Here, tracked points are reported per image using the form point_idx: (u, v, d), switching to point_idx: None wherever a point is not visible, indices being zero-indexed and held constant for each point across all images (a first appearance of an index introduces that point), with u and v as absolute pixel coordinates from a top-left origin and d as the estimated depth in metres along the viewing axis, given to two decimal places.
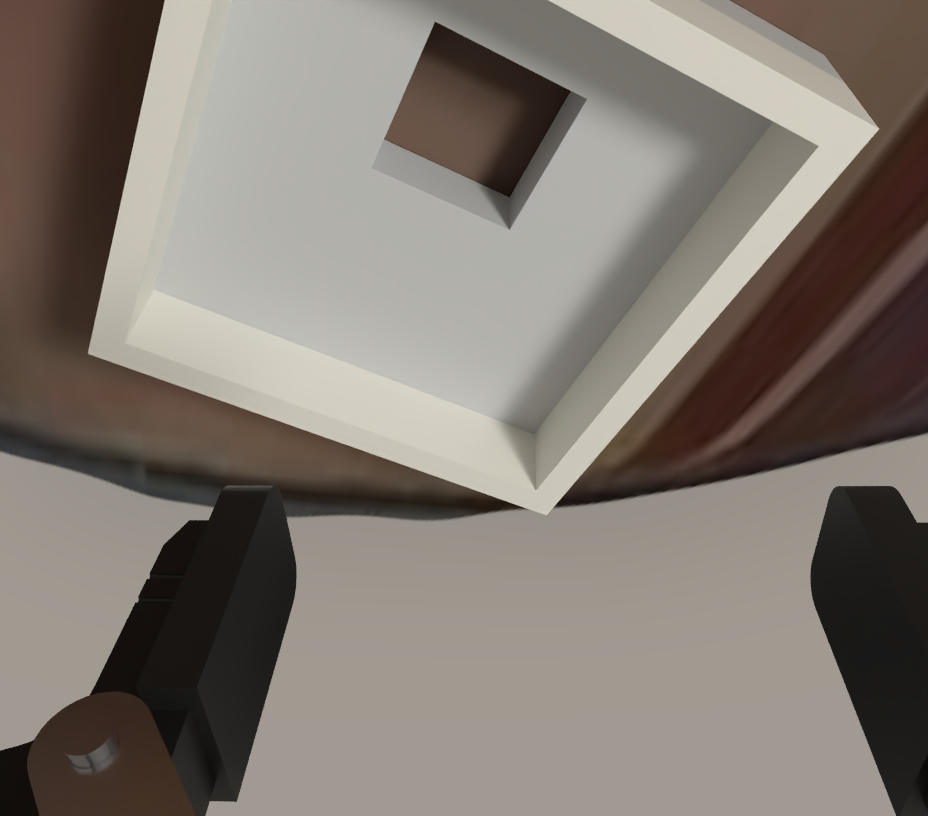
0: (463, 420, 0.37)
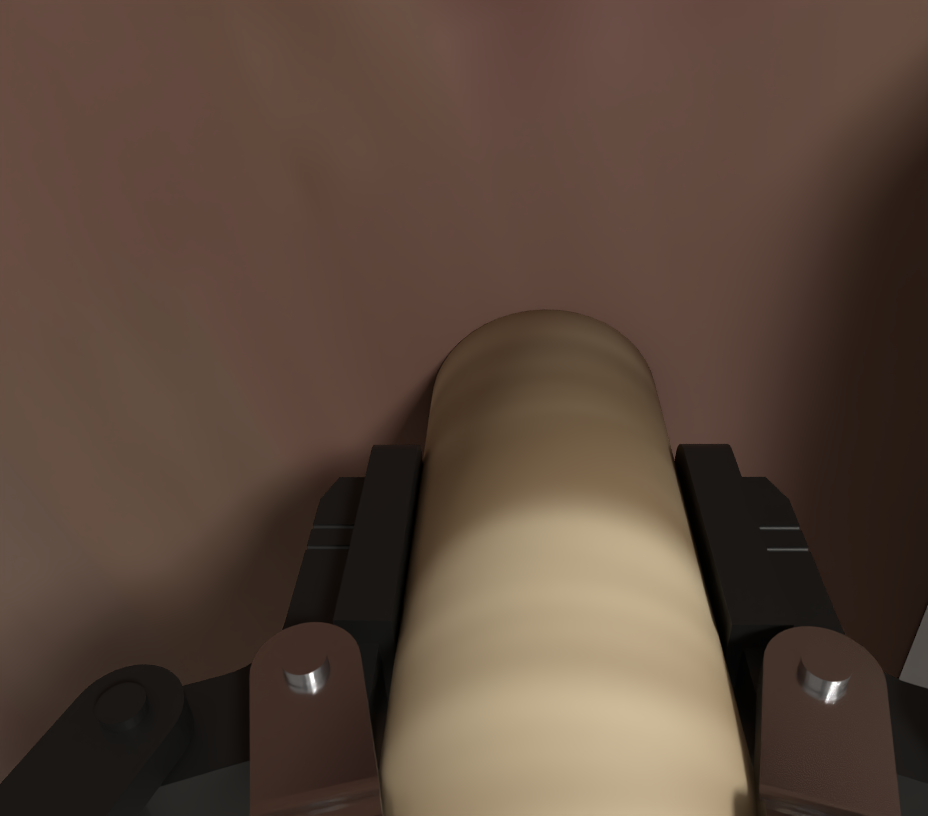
0: None
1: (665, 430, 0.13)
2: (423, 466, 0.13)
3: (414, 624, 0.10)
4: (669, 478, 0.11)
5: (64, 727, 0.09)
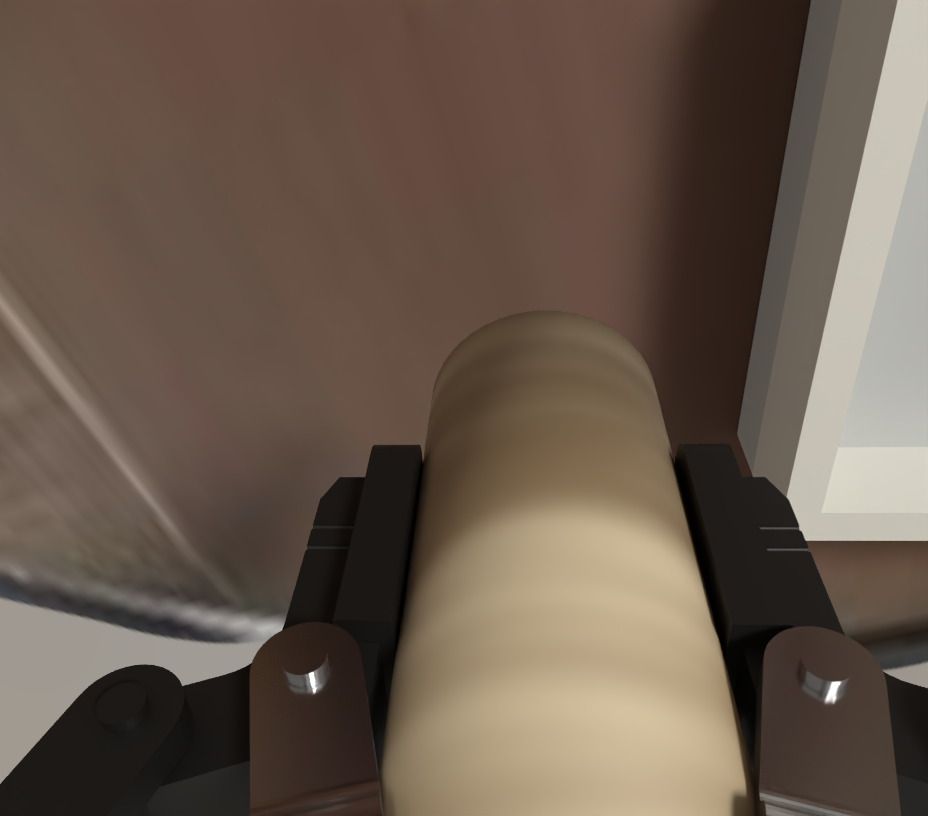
0: None
1: (665, 431, 0.13)
2: (423, 467, 0.13)
3: (415, 624, 0.10)
4: (669, 479, 0.11)
5: (64, 727, 0.09)
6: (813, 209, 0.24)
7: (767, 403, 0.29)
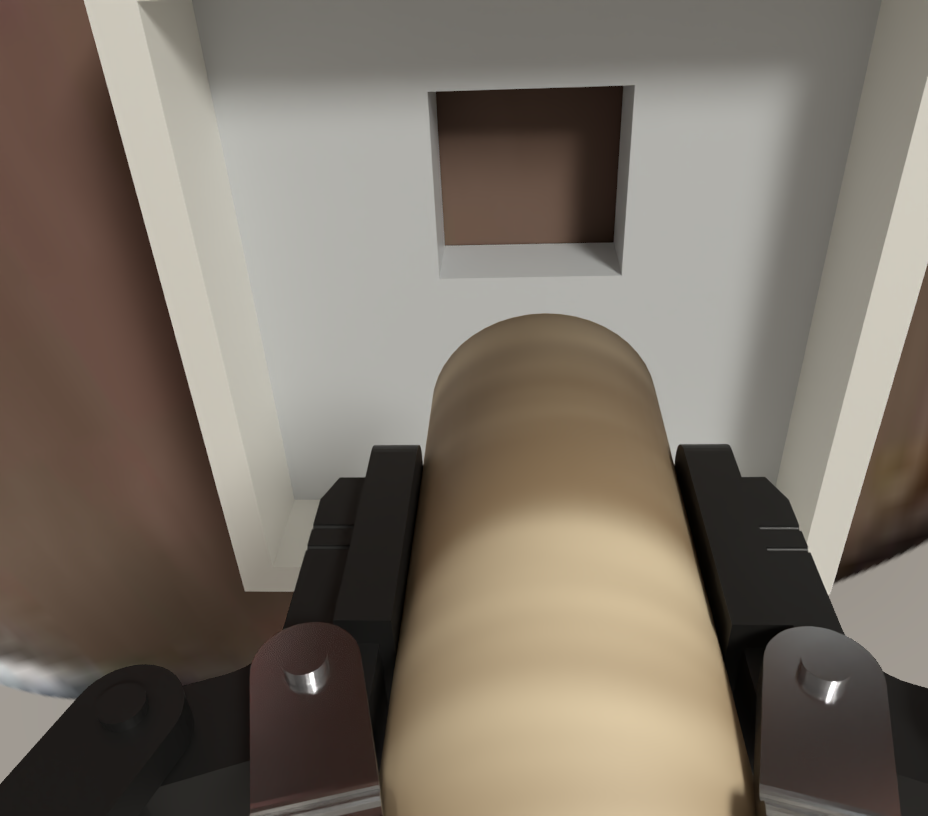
0: None
1: (665, 434, 0.13)
2: (423, 469, 0.13)
3: (415, 627, 0.10)
4: (669, 482, 0.11)
5: (64, 727, 0.09)
6: None
7: None
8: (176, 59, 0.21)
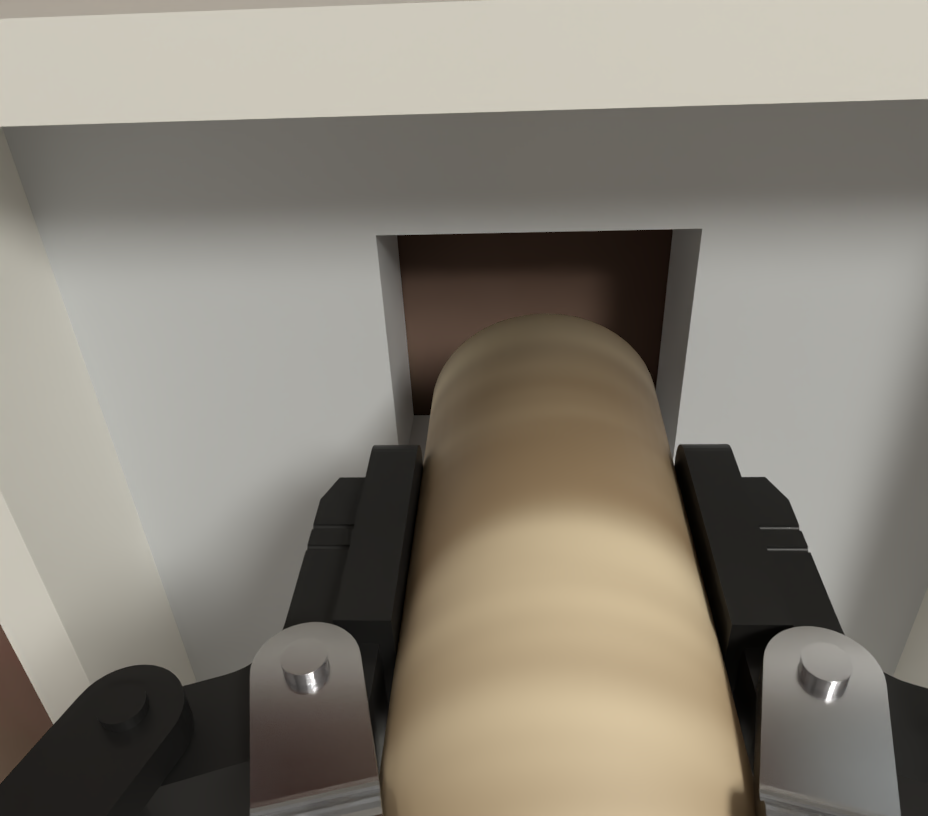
0: None
1: (665, 434, 0.13)
2: (423, 470, 0.13)
3: (415, 628, 0.10)
4: (669, 482, 0.11)
5: (64, 727, 0.09)
6: None
7: None
8: None
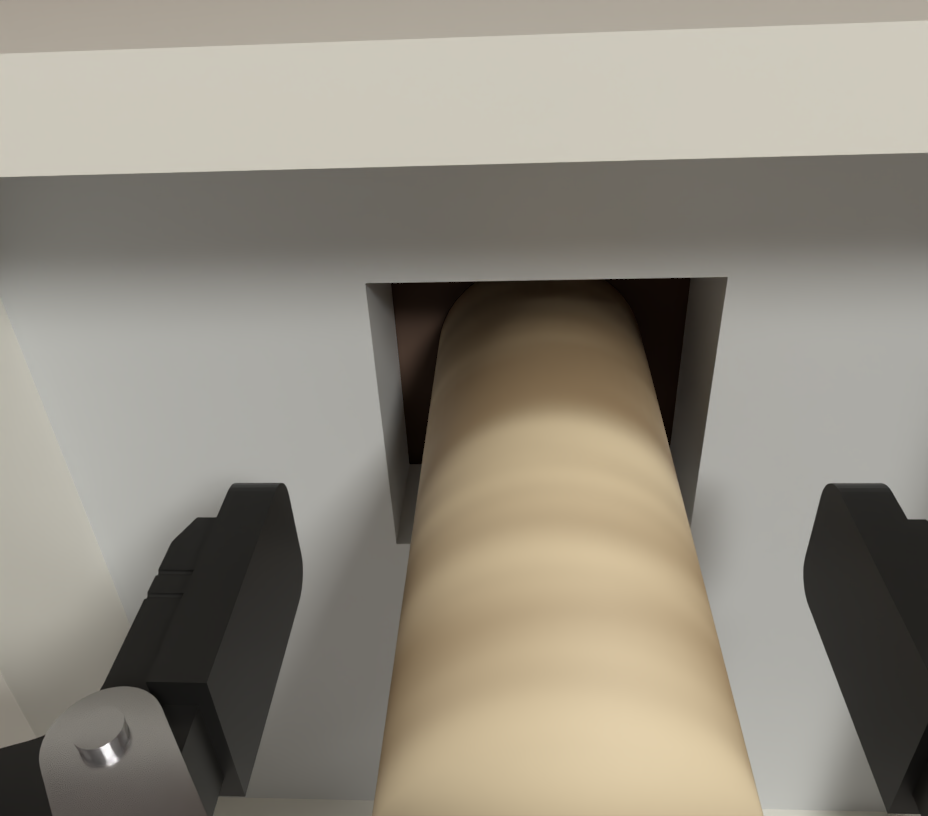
0: None
1: (647, 365, 0.15)
2: (432, 396, 0.14)
3: (428, 510, 0.11)
4: (648, 399, 0.13)
5: None
6: None
7: None
8: None
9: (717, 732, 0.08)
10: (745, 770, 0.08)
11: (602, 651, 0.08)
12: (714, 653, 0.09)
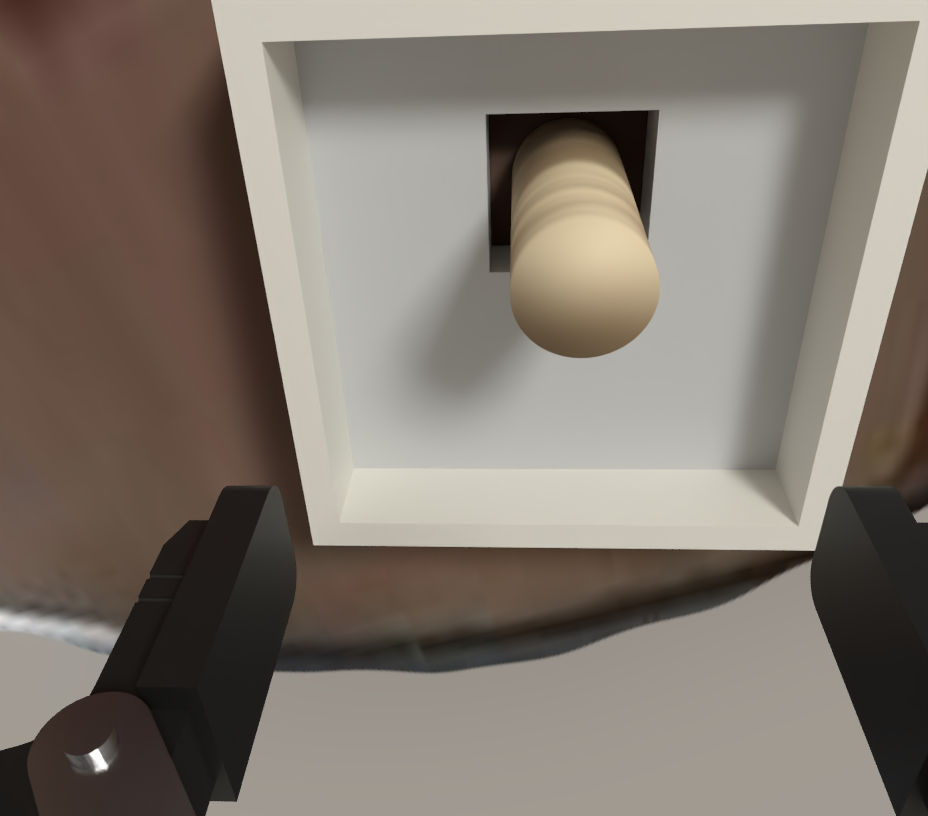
0: (690, 482, 0.34)
1: (623, 166, 0.29)
2: (514, 179, 0.29)
3: (522, 201, 0.25)
4: (622, 170, 0.27)
5: None
6: None
7: None
8: (283, 87, 0.25)
9: (640, 236, 0.22)
10: (650, 251, 0.22)
11: (598, 209, 0.22)
12: (642, 230, 0.23)
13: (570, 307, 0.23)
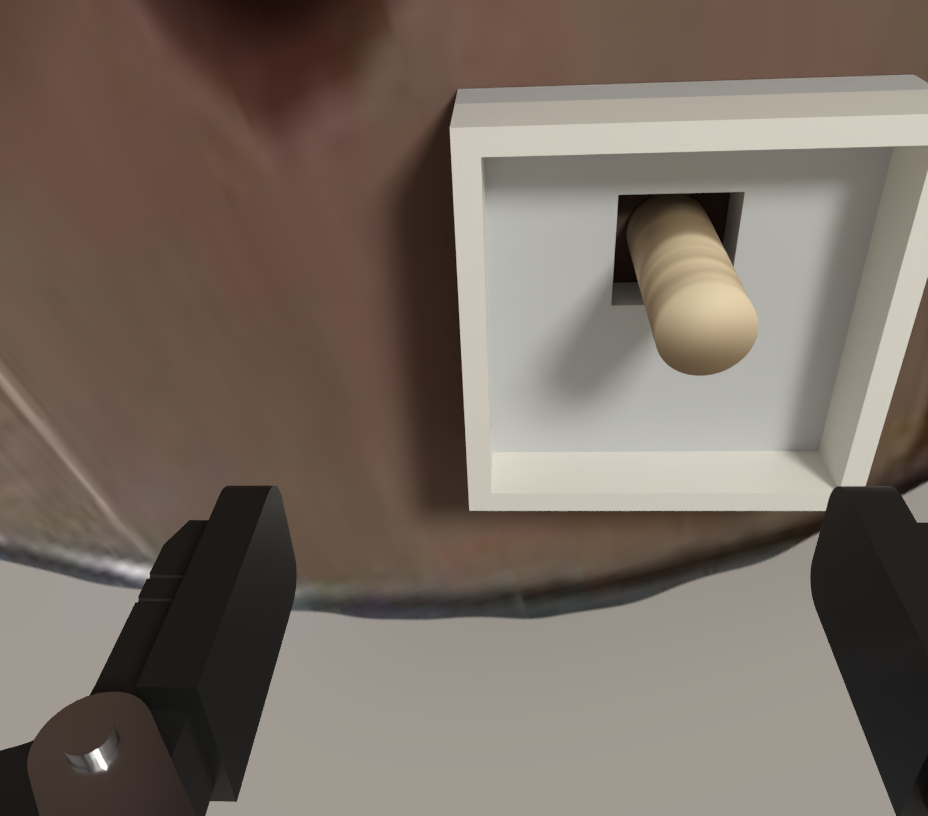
0: (754, 461, 0.45)
1: None
2: (635, 240, 0.39)
3: (651, 263, 0.36)
4: (717, 235, 0.38)
5: None
6: None
7: None
8: (483, 181, 0.36)
9: (745, 294, 0.33)
10: None
11: (716, 276, 0.33)
12: (743, 287, 0.34)
13: (696, 341, 0.33)
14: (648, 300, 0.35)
